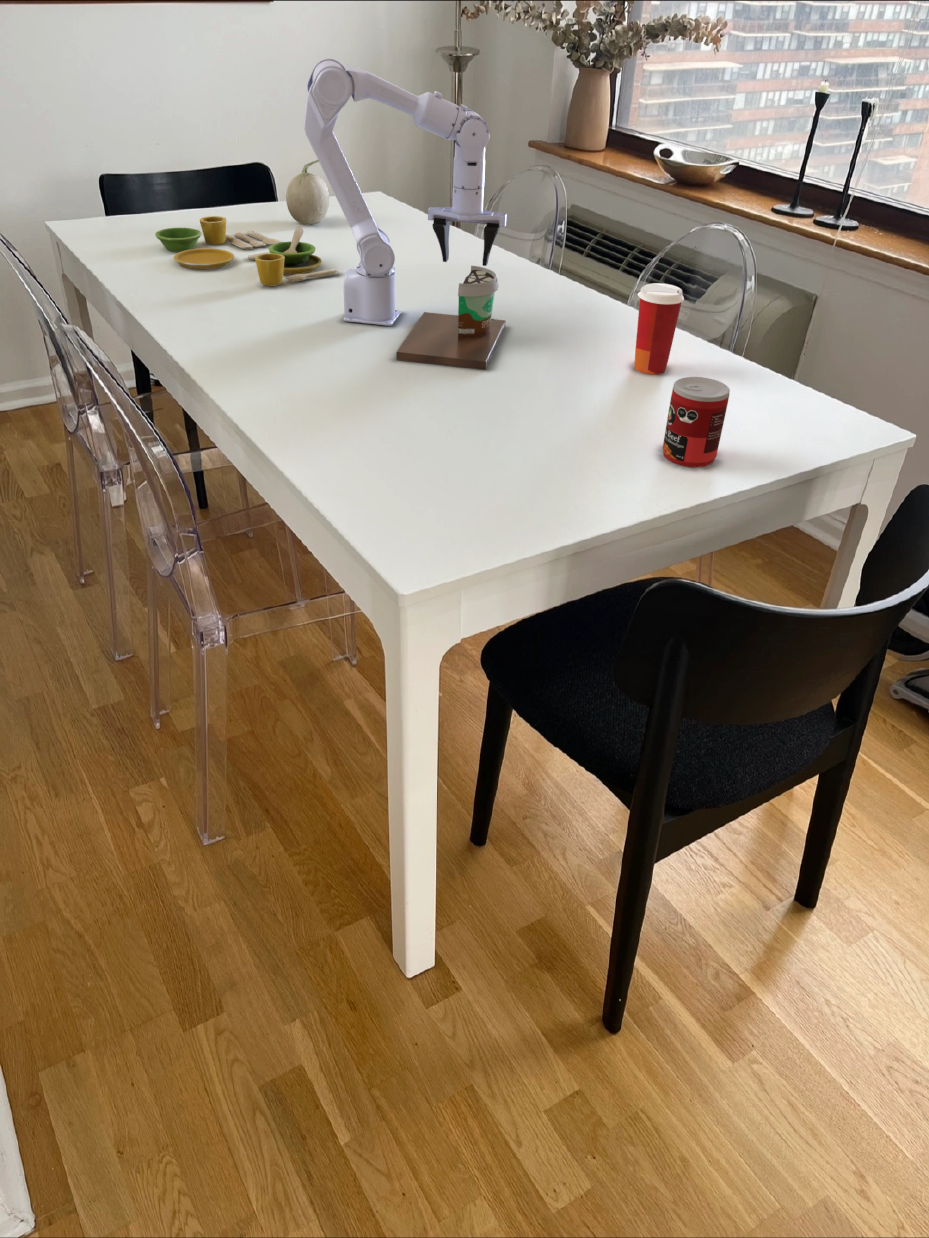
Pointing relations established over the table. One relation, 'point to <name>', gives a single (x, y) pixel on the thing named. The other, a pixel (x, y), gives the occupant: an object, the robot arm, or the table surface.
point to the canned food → (695, 421)
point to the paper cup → (656, 326)
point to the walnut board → (449, 343)
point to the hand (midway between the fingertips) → (465, 262)
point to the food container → (476, 302)
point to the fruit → (307, 197)
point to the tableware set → (269, 264)
